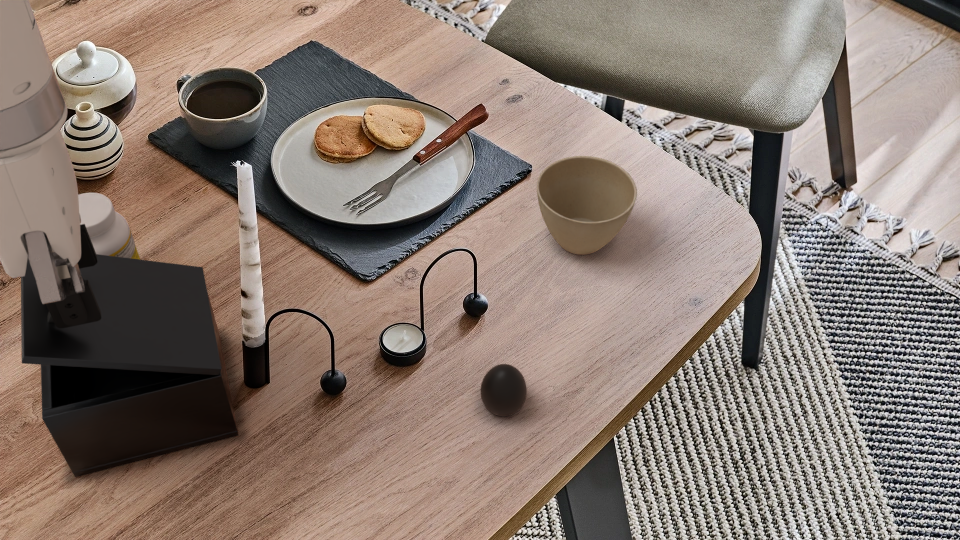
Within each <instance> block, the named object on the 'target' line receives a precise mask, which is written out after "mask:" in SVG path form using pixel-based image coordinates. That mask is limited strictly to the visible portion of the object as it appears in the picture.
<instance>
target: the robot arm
mask: <svg viewBox="0 0 960 540" xmlns="http://www.w3.org/2000/svg"><path fill="white" fill-rule="evenodd" d="M40 30H41V29H40V28H39V25H38V22H37V20H36V16H35V14H34V10H33V9H32V5H31V2H30V0H0V263H1V265H2V267H3V270H4V272H5V274H6V275H8V276H9V277H10V278H12V279H17V278H21V277H22V276H25V273H26V266H27V260H28V259H29V262H30V265H31V268H32V271H33V273H34V276H35V279H36V283H37V287H38V291H39V295H40V299H41V302H42V304H46V306H47V308H48V310H49V312H50V314H51V316H52V319H53V321H54V323H55V325H56V327H58V328H67V327H72V326H77V325H81V324H86V323H91V322H96V321H99V320H101V311H100V308H99V306H98V303H97V301H96V298H95V296H94V293H93V291H92V288H91V286H90V284H89V281H88V280H83V279H82V276H81V272H80V268H85V267H91V266H94V265H96V264H97V262H98V261H97V255H96V252H95V250H94V247H93V244H92V242H91V239H90V237H89V234H88V231H87V229H86V226H85V224H82V225H80V223H81V217H80V213H79V199H78V195H79V188H78V183H77V177H76V172H75V168H74V165H73V162H72V159H71V156H70V153H69V150H68V147H67V144H66V142H65V138H64V137H63V134H62V131H61V129H62V128H63V126H64V124H65V123H66V121H67V118H68V106H67V103H66V100H65V98H64V94H63V92H62V89H61V86H60V83H59V81H58V78H57V75H56V72H55V69H54V67H53V63H52V61H51V59H50V56H49V53H48V50H47V48H46V45H45V42H44V40H43V36H42V34H41V31H40ZM52 250H53V251H54V252H52ZM62 265H67V268H68V271H69V274H70V277H71V278H65V279H59V276H58V272H57V268H56V267H57V266H62Z"/></svg>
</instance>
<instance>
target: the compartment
mask: <svg viewBox="0 0 960 540" xmlns="http://www.w3.org/2000/svg"><path fill="white" fill-rule="evenodd" d="M207 293H208V298H209V304H210V309H211V315H212V320H213V325H214V331H215V336H216V342H217V347H218V352H219V358H220V363H221V371H220V373H219V375H207V374H190V373H173V372H157V371H140V370H123V369H106V368H89V367H72V366H56V365H40V389H41V419H42V421H43V422H44V425H45V426H46V429H47V430H48V432H49V434H50V435H51V437H52V439H53V441H54V443H55V444H56V447H57V448H58V450H59V452H60V454H61V455H62V456H63V459H64V460H65V462H66V464H67V466H68V468H69V469H70V472H72V475H73V476H74V478H79V477H82V476H87V475H90V474H95V473H100V472H103V471H106V470H110V469H111V470H112V469H114V468H118V467H123V466H126V465H129V464H134V463H138V462H142V461H146V460H149V459H153V458H157V457H161V456H165V455H168V454H173V453H176V452H177V453H178V452H181V451H184V450H188V449H192V448H196V447H201V446H204V445H208V444H212V443H216V442H220V441H223V440H227V439H228V440H229V439H232V438H235V437H239V436H240V433H239V429H238V423H237V418H236V413H235V408H234V401H233V396H232V391H231V386H230V382H229V376H228V371H227V364H226V359H225V354H224V349H223V344H222V339H221V334H220V331H219V327H218V324H217V320H216V315H215V313H214V310H213V306H212V303H211V298H210V295H209V291H208V290H207Z"/></svg>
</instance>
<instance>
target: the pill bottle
mask: <svg viewBox="0 0 960 540" xmlns="http://www.w3.org/2000/svg"><path fill="white" fill-rule="evenodd" d="M78 199H79V213H80V217H81V223H80V225H82V224H85V226H86V229H87V231H88V234H89V237H90V239H91V242H92V244H93V247H94V250H95V252H96V254H99V255H107V256H115V257H123V258H132V259H140V260H141V256H140V254H139V251H138V248H137V245H136V242H135V239H134V236H133V233H132V230H131V227H130V224H129V223H128V220H127V219H126V218H125V216H123V215H122V214H121V213H119V212H118V211H116V209H115V206H114V205H113V202H112V200H111V198H109V197H108V196H107V195H105V194H102V193H100V192H99V193H98V192H84V193H78Z"/></svg>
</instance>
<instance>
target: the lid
mask: <svg viewBox="0 0 960 540" xmlns="http://www.w3.org/2000/svg"><path fill="white" fill-rule="evenodd" d="M52 252H54V251H53V250H52ZM96 255H97V261H98V262H97V264H96V265H94V266H91V267H85V268H80V272H81V276H82V279H83V280H88V281H89V284H90V286H91V288H92V291H93V293H94V296H95V298H96V301H97V303H98V306H99V308H100V311H101V320H99V321H96V322H91V323H86V324H81V325H77V326H72V327H67V328H58V327H56V325H55V323H54V321H53V319H52V316H51V314H50V312H49V310H48V308H47V306H46V304H42V302H41V299H40V295H39V291H38V287H37V283H36V279H35V276H34V273H33V271H32V268H31V265H30V262H29V259H28V260H27V266H26V273H25V276H22V277H20V316H21V317H20V325H21V326H20V330H21V331H20V333H21V334H20V335H21V336H20V337H21V339H20V341H21V342H20V343H21V345H20V346H21V349H20V350H21V364H25V365H38V366H41V365H56V366H72V367H89V368H106V369H123V370H140V371H157V372H173V373H190V374H207V375H219V373H220V371H221V363H220V358H219V352H218V347H217V342H216V336H215V331H214V325H213V320H212V315H211V309H210V304H209V298H210V297H209V298H208V295H209V292H208V293H207V291H208V287H207V282H206V277H205V271H204V267H203V266H197V265H188V264H181V263H172V262H165V261H163V262H162V261H155V260H148V259H141V258H140V259H132V258H123V257H115V256H107V255H99V254H96ZM56 268H57V272H58V276H59V279H65V278H71V277H70V274H69V271H68V268H67V265H62V266H57V267H56Z"/></svg>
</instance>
